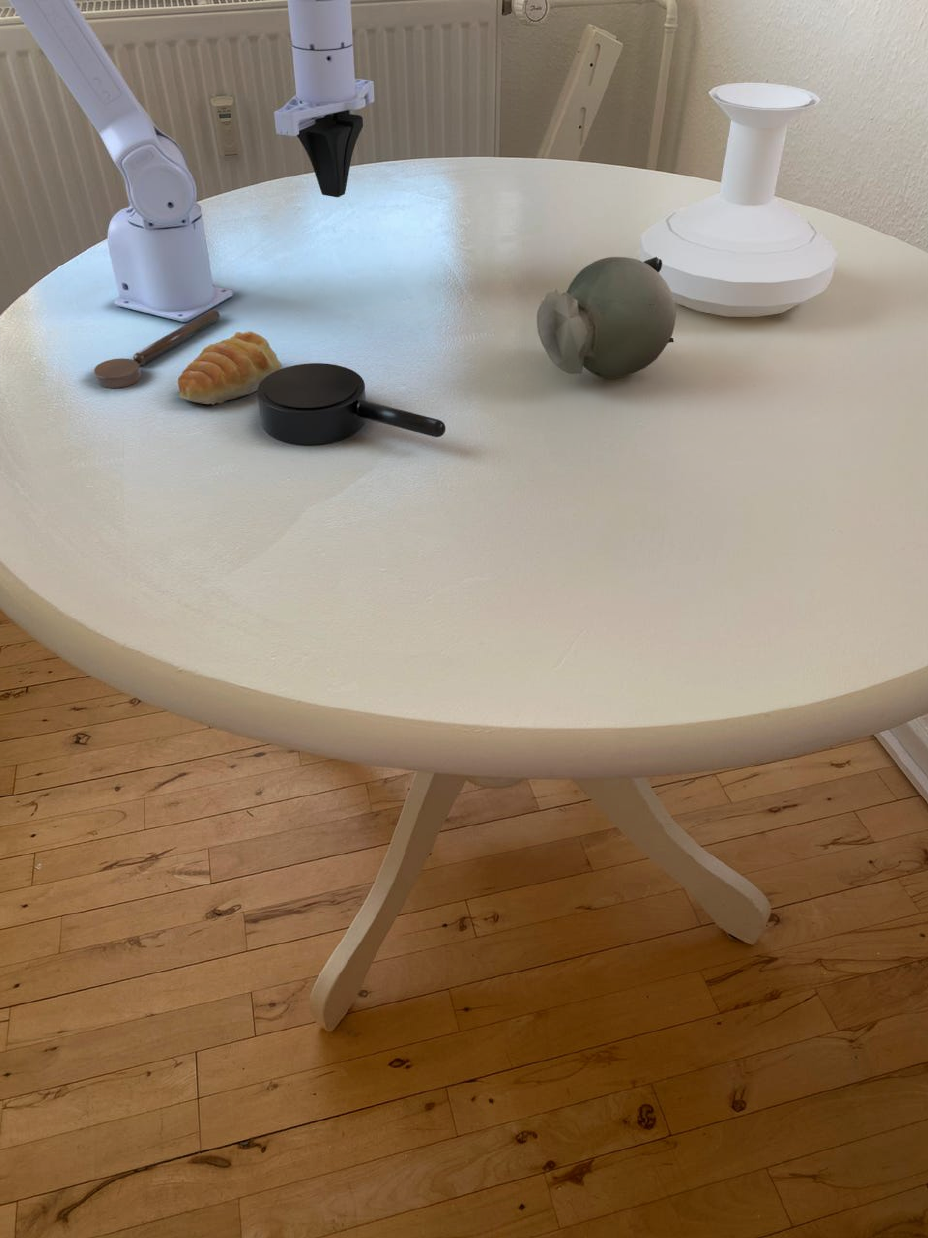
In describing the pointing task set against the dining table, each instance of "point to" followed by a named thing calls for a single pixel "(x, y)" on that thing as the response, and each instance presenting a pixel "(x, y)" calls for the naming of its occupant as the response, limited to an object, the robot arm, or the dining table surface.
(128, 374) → the spoon
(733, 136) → the candle holder
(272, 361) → the pastry
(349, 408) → the pan
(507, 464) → the dining table surface
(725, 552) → the dining table surface
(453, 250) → the dining table surface
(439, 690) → the dining table surface
